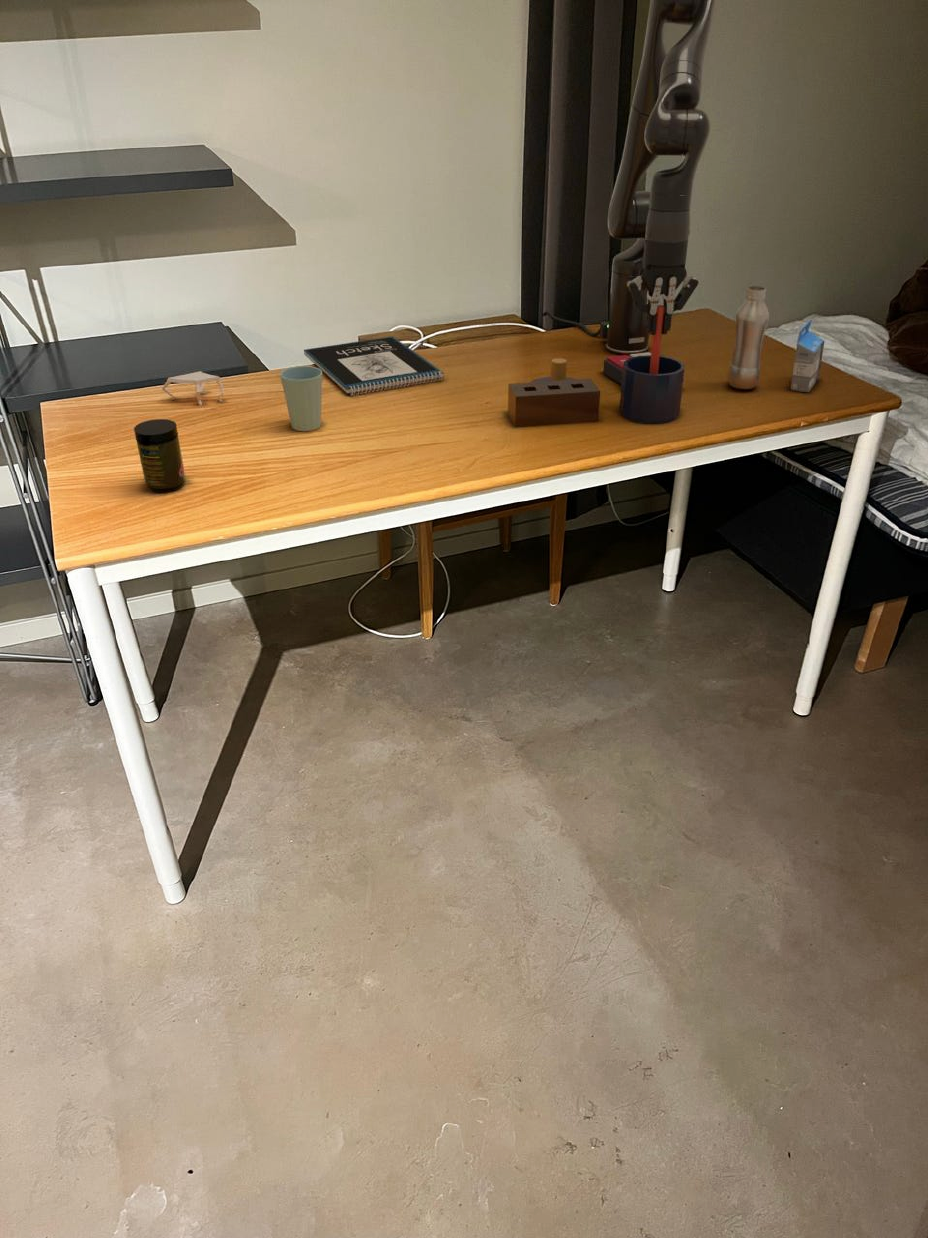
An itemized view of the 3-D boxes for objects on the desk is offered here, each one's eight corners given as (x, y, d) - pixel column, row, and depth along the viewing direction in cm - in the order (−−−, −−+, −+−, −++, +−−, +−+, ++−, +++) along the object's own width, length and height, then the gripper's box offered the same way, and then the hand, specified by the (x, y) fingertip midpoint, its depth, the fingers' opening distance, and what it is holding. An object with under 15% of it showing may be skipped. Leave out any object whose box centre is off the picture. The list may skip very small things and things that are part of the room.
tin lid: (521, 383, 206) (521, 352, 203) (579, 380, 208) (581, 348, 204) (534, 405, 196) (535, 372, 192) (596, 401, 198) (598, 368, 194)
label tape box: (808, 393, 200) (819, 332, 194) (788, 389, 202) (798, 329, 195) (818, 380, 207) (830, 321, 200) (799, 376, 209) (809, 318, 202)
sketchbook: (392, 341, 231) (392, 332, 230) (445, 381, 208) (445, 372, 207) (304, 354, 223) (303, 345, 222) (349, 397, 201) (348, 387, 199)
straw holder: (507, 413, 193) (508, 383, 190) (588, 407, 195) (590, 378, 192) (515, 426, 187) (515, 396, 184) (598, 421, 189) (600, 390, 186)
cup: (323, 416, 192) (318, 363, 187) (330, 430, 186) (325, 377, 180) (284, 420, 191) (277, 367, 185) (289, 435, 184) (283, 381, 179)
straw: (644, 408, 193) (654, 305, 182) (652, 408, 193) (662, 304, 182) (647, 411, 191) (657, 307, 180) (655, 411, 192) (665, 307, 181)
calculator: (650, 350, 212) (684, 368, 200) (649, 369, 215) (682, 389, 202) (603, 355, 210) (634, 374, 197) (602, 375, 212) (633, 395, 200)
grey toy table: (222, 389, 205) (219, 366, 202) (226, 403, 198) (223, 379, 196) (163, 395, 202) (158, 372, 200) (165, 410, 196) (160, 386, 193)
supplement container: (184, 492, 165) (174, 433, 159) (143, 495, 164) (130, 436, 158) (188, 475, 170) (178, 417, 164) (148, 477, 169) (136, 420, 164)
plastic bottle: (755, 381, 206) (770, 283, 195) (760, 393, 201) (776, 293, 190) (723, 381, 207) (737, 283, 196) (727, 392, 201) (742, 292, 190)
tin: (612, 403, 196) (616, 356, 191) (667, 400, 198) (672, 353, 193) (629, 425, 187) (633, 376, 182) (687, 421, 188) (693, 372, 183)
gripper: (696, 229, 179) (685, 325, 188) (623, 232, 177) (615, 329, 186) (711, 238, 172) (699, 337, 182) (635, 241, 171) (627, 341, 180)
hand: (657, 332), depth 184 cm, fingers closed on straw
